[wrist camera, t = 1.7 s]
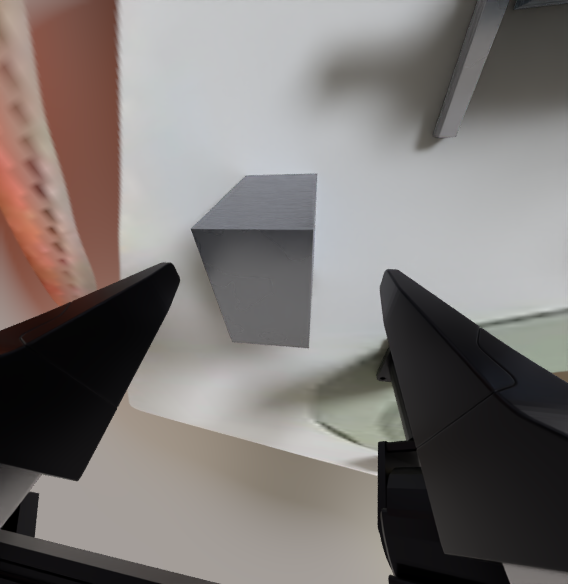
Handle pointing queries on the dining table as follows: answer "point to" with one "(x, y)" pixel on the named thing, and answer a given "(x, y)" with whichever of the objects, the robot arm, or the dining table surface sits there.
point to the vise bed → (470, 65)
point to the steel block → (263, 257)
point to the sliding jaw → (537, 3)
